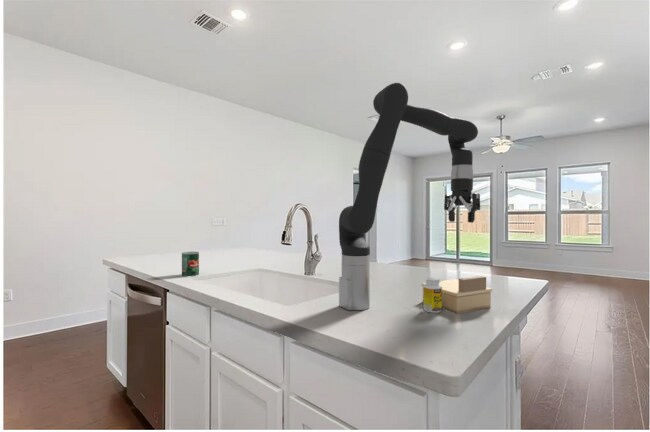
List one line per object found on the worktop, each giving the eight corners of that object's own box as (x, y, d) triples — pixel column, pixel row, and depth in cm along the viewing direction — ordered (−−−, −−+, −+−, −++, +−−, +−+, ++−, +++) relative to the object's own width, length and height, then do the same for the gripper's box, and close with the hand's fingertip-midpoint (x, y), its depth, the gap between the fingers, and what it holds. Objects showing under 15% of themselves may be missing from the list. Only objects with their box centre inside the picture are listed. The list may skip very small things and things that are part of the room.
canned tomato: (195, 276, 155) (195, 253, 155) (178, 276, 155) (178, 253, 155) (201, 273, 163) (201, 251, 163) (186, 273, 163) (185, 251, 163)
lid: (456, 296, 99) (457, 280, 99) (421, 286, 114) (421, 271, 113) (492, 291, 106) (492, 276, 106) (454, 281, 120) (454, 268, 120)
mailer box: (456, 313, 100) (456, 297, 100) (422, 301, 114) (422, 287, 113) (490, 307, 106) (490, 292, 106) (454, 296, 120) (454, 283, 120)
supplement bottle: (434, 314, 99) (434, 281, 99) (419, 309, 104) (419, 278, 104) (445, 311, 102) (445, 279, 102) (431, 307, 107) (431, 276, 107)
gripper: (439, 179, 125) (439, 221, 125) (470, 175, 112) (470, 222, 112) (453, 180, 128) (453, 221, 128) (485, 177, 115) (484, 222, 116)
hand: (461, 222), depth 120 cm, fingers open, 8 cm apart
